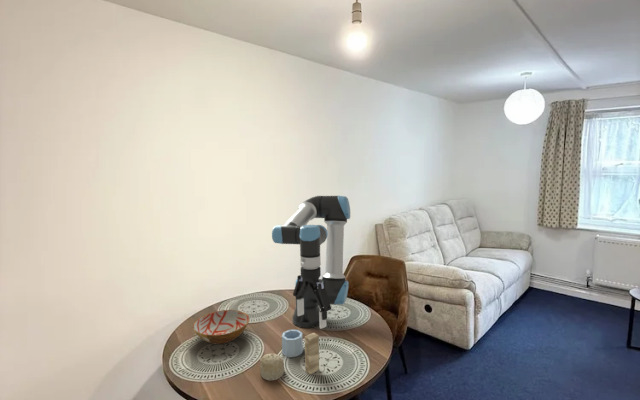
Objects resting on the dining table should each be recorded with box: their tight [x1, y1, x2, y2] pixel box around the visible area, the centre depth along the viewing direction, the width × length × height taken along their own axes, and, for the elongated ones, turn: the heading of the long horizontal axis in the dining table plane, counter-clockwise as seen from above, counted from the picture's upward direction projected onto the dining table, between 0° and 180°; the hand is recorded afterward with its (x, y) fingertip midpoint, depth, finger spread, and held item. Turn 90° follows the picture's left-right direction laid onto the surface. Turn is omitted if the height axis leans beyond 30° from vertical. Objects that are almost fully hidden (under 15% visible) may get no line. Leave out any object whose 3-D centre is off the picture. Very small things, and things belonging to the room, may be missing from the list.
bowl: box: [192, 309, 250, 345], centre depth 152 cm, size 25×25×8 cm
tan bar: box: [304, 332, 320, 375], centre depth 126 cm, size 3×4×14 cm, turn 130°
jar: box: [281, 329, 304, 358], centre depth 140 cm, size 9×9×8 cm
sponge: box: [259, 353, 285, 382], centre depth 126 cm, size 9×10×10 cm
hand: (311, 321), depth 125 cm, fingers open, 13 cm apart
